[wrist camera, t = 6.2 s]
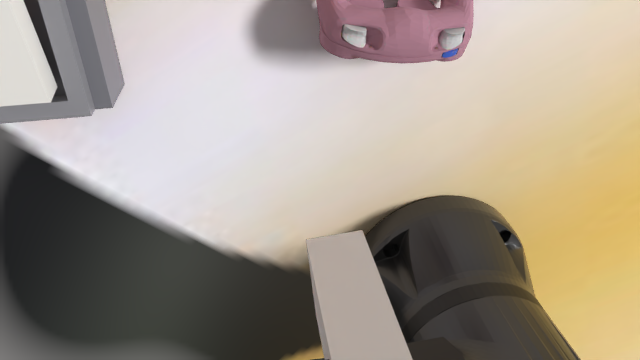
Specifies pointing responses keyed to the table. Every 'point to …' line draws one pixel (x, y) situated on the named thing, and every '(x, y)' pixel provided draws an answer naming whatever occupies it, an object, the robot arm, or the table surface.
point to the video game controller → (395, 29)
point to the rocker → (22, 59)
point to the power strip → (73, 60)
